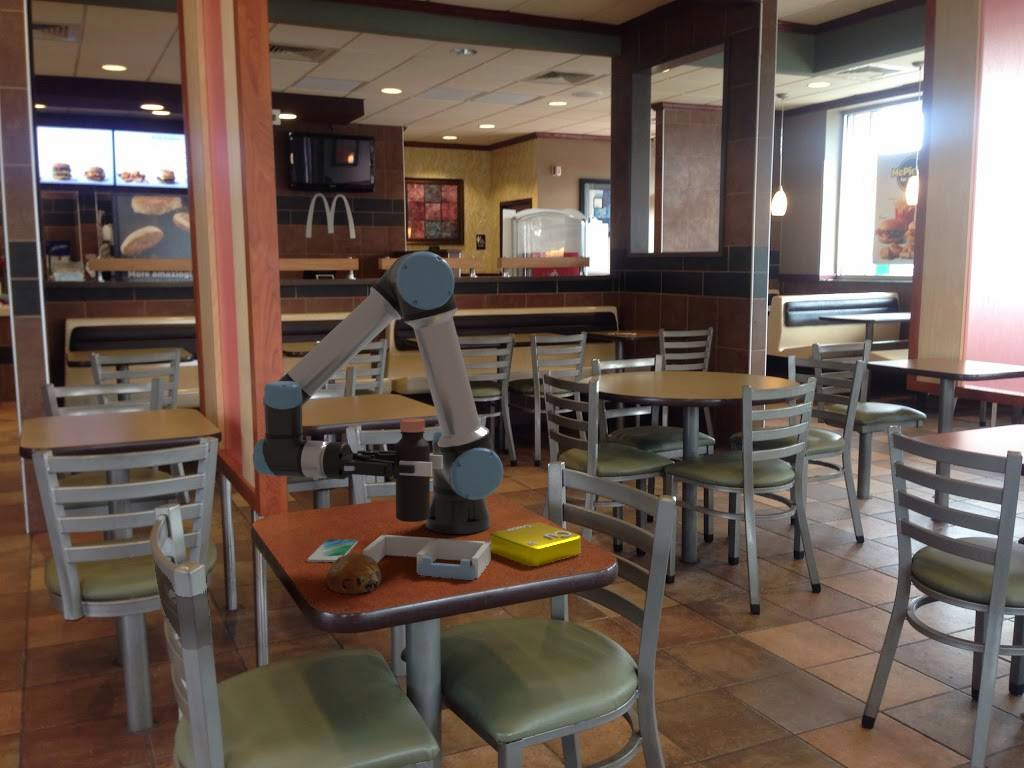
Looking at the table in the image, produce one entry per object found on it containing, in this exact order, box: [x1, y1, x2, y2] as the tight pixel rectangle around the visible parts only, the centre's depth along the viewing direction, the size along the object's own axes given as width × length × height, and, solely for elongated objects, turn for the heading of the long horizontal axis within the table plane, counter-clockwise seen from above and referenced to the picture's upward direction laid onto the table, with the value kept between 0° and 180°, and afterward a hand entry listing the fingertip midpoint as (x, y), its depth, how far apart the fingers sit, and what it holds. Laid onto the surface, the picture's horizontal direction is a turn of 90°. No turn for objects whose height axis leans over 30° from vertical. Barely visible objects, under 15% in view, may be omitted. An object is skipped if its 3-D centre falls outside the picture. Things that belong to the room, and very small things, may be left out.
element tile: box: [489, 522, 582, 567], centre depth 190 cm, size 15×15×5 cm
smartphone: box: [305, 538, 358, 564], centre depth 190 cm, size 7×1×15 cm
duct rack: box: [362, 534, 492, 581], centre depth 180 cm, size 12×24×4 cm, turn 78°
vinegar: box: [395, 417, 431, 523], centre depth 178 cm, size 7×7×20 cm
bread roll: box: [326, 552, 382, 595], centre depth 169 cm, size 10×10×8 cm
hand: (436, 465), depth 177 cm, fingers closed on vinegar, 6 cm apart
